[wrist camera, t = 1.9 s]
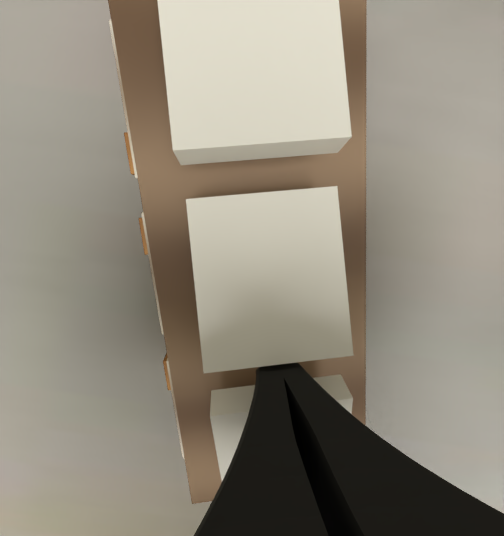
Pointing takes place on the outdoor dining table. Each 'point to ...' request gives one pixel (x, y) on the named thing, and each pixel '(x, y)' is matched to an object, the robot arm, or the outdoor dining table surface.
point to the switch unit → (222, 184)
